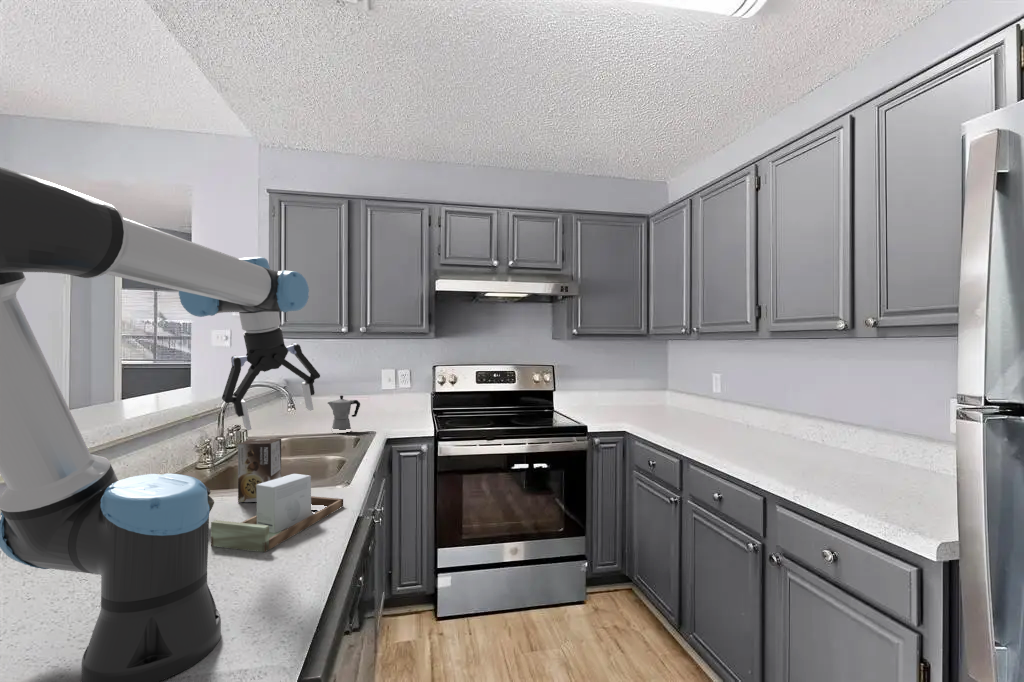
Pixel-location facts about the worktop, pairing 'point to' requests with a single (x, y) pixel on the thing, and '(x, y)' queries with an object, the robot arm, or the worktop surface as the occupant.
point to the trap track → (265, 529)
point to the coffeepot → (342, 412)
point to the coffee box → (257, 465)
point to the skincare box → (283, 501)
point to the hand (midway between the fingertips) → (280, 418)
